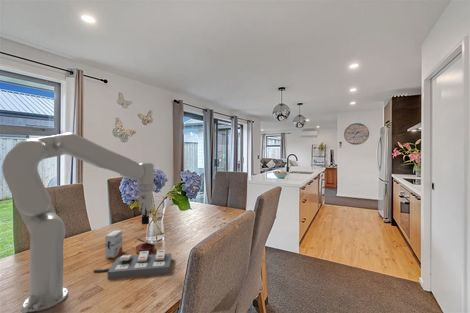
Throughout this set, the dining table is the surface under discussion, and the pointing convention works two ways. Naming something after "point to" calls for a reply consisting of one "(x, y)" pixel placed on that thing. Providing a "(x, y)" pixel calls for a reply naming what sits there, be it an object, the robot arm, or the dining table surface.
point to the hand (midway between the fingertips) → (145, 223)
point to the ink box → (113, 244)
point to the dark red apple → (145, 247)
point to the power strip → (138, 267)
